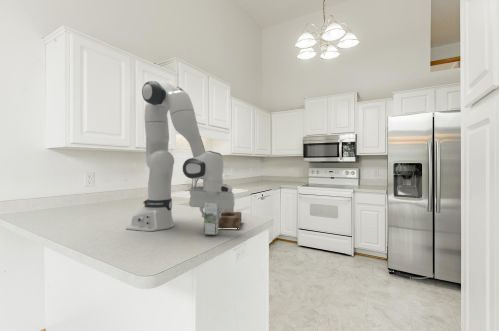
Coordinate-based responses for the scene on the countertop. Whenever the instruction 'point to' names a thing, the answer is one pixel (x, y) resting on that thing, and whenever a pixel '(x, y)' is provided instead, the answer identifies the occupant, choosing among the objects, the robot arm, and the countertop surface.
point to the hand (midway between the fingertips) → (211, 217)
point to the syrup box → (211, 218)
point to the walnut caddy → (229, 220)
